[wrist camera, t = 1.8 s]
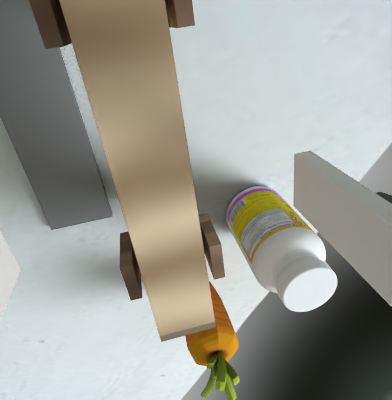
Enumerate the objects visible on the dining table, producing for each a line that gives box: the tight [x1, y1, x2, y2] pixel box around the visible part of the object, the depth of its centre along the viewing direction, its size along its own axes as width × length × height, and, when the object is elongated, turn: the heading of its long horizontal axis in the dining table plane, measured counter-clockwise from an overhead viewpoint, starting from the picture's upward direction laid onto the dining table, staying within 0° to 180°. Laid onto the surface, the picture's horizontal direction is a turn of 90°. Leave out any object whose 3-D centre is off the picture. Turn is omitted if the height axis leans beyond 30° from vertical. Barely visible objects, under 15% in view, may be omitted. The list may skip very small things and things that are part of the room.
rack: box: [29, 0, 225, 300], centre depth 23 cm, size 23×7×12 cm, turn 9°
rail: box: [59, 0, 216, 342], centre depth 18 cm, size 25×4×4 cm, turn 9°
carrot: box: [185, 282, 239, 400], centre depth 32 cm, size 5×5×15 cm
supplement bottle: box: [226, 186, 337, 312], centre depth 31 cm, size 7×7×13 cm
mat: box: [0, 0, 112, 230], centre depth 27 cm, size 19×6×1 cm, turn 9°
